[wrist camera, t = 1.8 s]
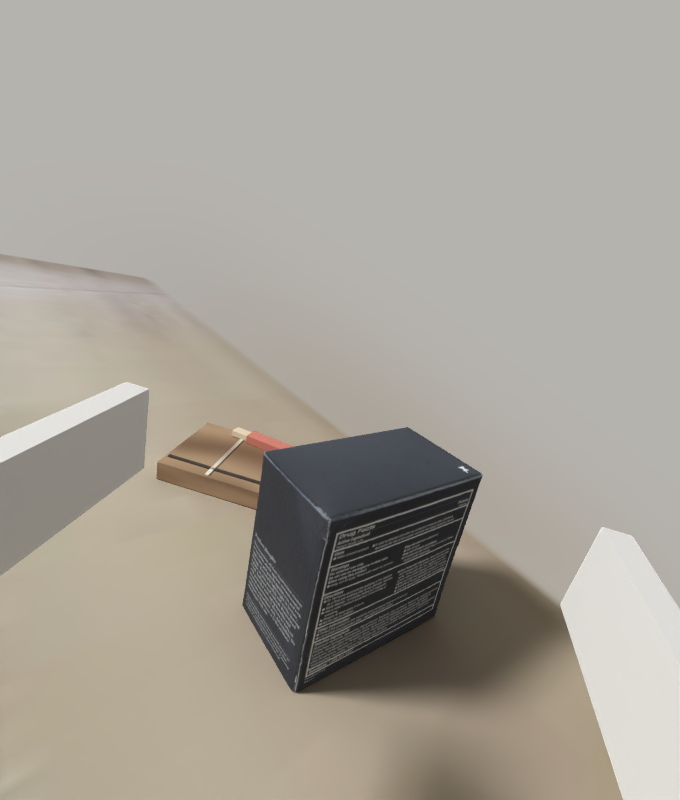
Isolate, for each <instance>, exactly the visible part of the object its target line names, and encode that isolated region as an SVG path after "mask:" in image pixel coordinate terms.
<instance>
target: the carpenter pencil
mask: <svg viewBox="0 0 680 800" xmlns="http://www.w3.org/2000/svg"><path fill="white" fill-rule="evenodd" d="M232 436H234V437H237V438H239V439H242V440H244V441H246V443H248V444H250V445H253V446H255V447H258V448H260V449H263V450H265V451H271V450H277V449H283V448H289V447H293V446H291V445H288V444H286V443H283V442H280V441H278V440H275V439H273V438H270V437H268V436H265V435H263V434H260V433H258V432H255V431H253V432H249V431H246V430H244V429H241V428H239V427H238V428H236V429H234V430H232Z"/></svg>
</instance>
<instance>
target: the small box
mask: <svg viewBox="0 0 680 800" xmlns="http://www.w3.org/2000/svg"><path fill="white" fill-rule="evenodd" d="M481 478H482V473H480V472H478V471H477V470H475V469H473V468H472V467H471V466H469V465H467V464H466V463H464V462H462V461H461V460H459V459H458V458H456V457H455V456H453V455H451V454H450V453H448V452H447V451H445V450H443V449H442V448H440V447H439V446H437V445H435V444H434V443H432V442H431V441H429V440H427V439H426V438H424V437H423V436H421V435H419V434H418V433H416V432H415V431H413V430H411V429H410V428H408V427H406V428H401V429H395V430H389V431H383V432H379V433H372V434H366V435H361V436H354V437H348V438H343V439H337V440H331V441H325V442H319V443H313V444H307V445H301V446H295V447H289V448H283V449H277V450H271V451H266V452H264V455H263V463H262V474H261V481H260V487H259V496H258V502H257V510H256V516H255V524H254V531H253V538H252V545H251V551H250V558H249V566H248V572H247V579H246V587H245V594H244V599H243V607H244V609H245V610H246V612H247V614H248V616H249V618H250V620H251V621H252V623H253V625H254V626H255V628H256V630H257V632H258V634H259V635H260V637H261V639H262V641H263V643H264V644H265V646H266V648H267V649H268V651H269V653H270V654H271V656H272V658H273V660H274V661H275V663H276V665H277V667H278V668H279V670H280V672H281V674H282V675H283V677H284V679H285V681H286V682H287V684H288V686H289V687H290V689H291V690H292V691H294V692H297V691H299V690H301V689H303V688H304V687H306V686H308V685H310V684H312V683H314V682H316V681H318V680H320V679H321V678H323V677H325V676H327V675H329V674H330V673H332V672H334V671H336V670H338V669H340V668H341V667H343V666H345V665H347V664H349V663H351V662H352V661H354V660H356V659H358V658H360V657H361V656H363V655H365V654H367V653H369V652H370V651H372V650H374V649H376V648H378V647H380V646H381V645H383V644H385V643H387V642H388V641H390V640H392V639H394V638H396V637H398V636H399V635H401V634H403V633H405V632H407V631H409V630H410V629H412V628H414V627H416V626H417V625H419V624H421V623H423V622H425V621H426V620H428V619H430V618H432V617H434V616H435V613H436V610H437V606H438V603H439V600H440V597H441V593H442V590H443V587H444V584H445V581H446V577H447V575H448V572H449V569H450V566H451V563H452V560H453V557H454V555H455V551H456V549H457V546H458V544H459V541H460V538H461V536H462V533H463V529H464V526H465V524H466V521H467V519H468V515H469V512H470V509H471V506H472V503H473V501H474V498H475V495H476V492H477V489H478V486H479V483H480V481H481Z"/></svg>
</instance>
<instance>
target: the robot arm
mask: <svg viewBox="0 0 680 800" xmlns="http://www.w3.org/2000/svg"><path fill="white" fill-rule="evenodd" d="M148 399H149V389H148V388H145V387H141V386H138V385H135V384H131V383H128V382H125V383H122V384H120V385H118V386H116V387H113V388H111V389H109V390H106V391H104V392H102V393H100V394H97V395H95V396H93V397H91V398H88V399H86V400H84V401H81V402H79V403H77V404H75V405H72V406H70V407H68V408H65V409H63V410H61V411H59V412H56V413H54V414H52V415H50V416H47V417H45V418H43V419H40V420H38V421H36V422H34V423H31V424H29V425H27V426H25V427H22V428H20V429H18V430H15V431H13V432H11V433H9V434H6V435H4V436H2V437H0V576H1V575H2V574H4V573H5V572H6V571H8V570H9V569H10V568H11V567H13V566H14V565H15V564H17V563H18V562H19V561H21V560H22V559H23V558H25V557H26V556H27V555H29V554H30V553H31V552H33V551H34V550H35V549H37V548H38V547H39V546H41V545H42V544H43V543H45V542H46V541H47V540H49V539H50V538H51V537H53V536H54V535H55V534H57V533H58V532H59V531H61V530H62V529H63V528H65V527H66V526H67V525H69V524H70V523H71V522H73V521H74V520H75V519H77V518H78V517H79V516H81V515H82V514H83V513H85V512H86V511H87V510H89V509H90V508H91V507H93V506H94V505H95V504H97V503H98V502H99V501H100V500H102V499H103V498H104V497H106V496H107V495H108V494H110V493H111V492H112V491H114V490H115V489H116V488H118V487H119V486H120V485H122V484H123V483H124V482H126V481H127V480H128V479H130V478H131V477H132V476H134V475H135V474H136V473H138V472H139V471H140V470H142V469H143V468H144V459H145V444H146V429H147V414H148ZM560 606H561V609H562V612H563V615H564V618H565V621H566V624H567V627H568V630H569V633H570V637H571V640H572V643H573V646H574V649H575V652H576V655H577V658H578V661H579V664H580V667H581V671H582V674H583V677H584V680H585V683H586V686H587V689H588V692H589V695H590V698H591V702H592V705H593V708H594V711H595V714H596V717H597V720H598V723H599V726H600V729H601V732H602V736H603V739H604V742H605V745H606V748H607V751H608V754H609V757H610V760H611V763H612V767H613V770H614V773H615V776H616V779H617V782H618V785H619V788H620V791H621V794H622V797H623V800H680V609H679V608H678V606H677V605H676V603H675V602H674V600H673V598H672V597H671V595H670V594H669V592H668V591H667V589H666V588H665V586H664V585H663V583H662V581H661V580H660V578H659V577H658V575H657V574H656V572H655V570H654V569H653V567H652V566H651V564H650V563H649V561H648V560H647V558H646V557H645V555H644V554H643V552H642V550H641V549H640V547H639V546H638V544H637V543H636V541H635V540H634V538H633V536H631V535H628V534H624V533H621V532H618V531H615V530H611V529H608V528H604V527H602V528H601V530H600V531H599V533H598V535H597V537H596V539H595V540H594V542H593V544H592V546H591V548H590V550H589V552H588V554H587V555H586V558H585V559H584V561H583V563H582V565H581V567H580V569H579V570H578V572H577V574H576V576H575V578H574V580H573V582H572V584H571V585H570V587H569V589H568V591H567V593H566V595H565V596H564V598H563V600H562V602H561V604H560Z"/></svg>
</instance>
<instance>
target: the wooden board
mask: <svg viewBox="0 0 680 800" xmlns="http://www.w3.org/2000/svg"><path fill="white" fill-rule="evenodd" d="M264 452H266V451H265V450H263V449H260V448H258V447H255V446H253V445H250V444H248V443H246V441H244V440H242V439H239V438H237V437H234V436H232V430H230V429H226V428H223V427H220V426H216V425H213V424H209V423H207V424H206V425H205V426H203V427H202V428H201V429H199V430H198V431H197V432H196V433H194V434H193V435H192V436H190V437H189V438H188V439H187V440H185V441H184V442H183V443H181V444H180V445H179V446H178V447H176V448H175V449H174V450H172V451H171V452H170V453H169V454H167V455H166V456H165V457H163V458H162V459H161V460H160V461H158V463H157V479H160V480H163V481H166V482H170V483H173V484H176V485H179V486H182V487H186V488H189V489H192V490H195V491H198V492H202V493H205V494H208V495H211V496H214V497H218V498H221V499H224V500H227V501H230V502H234V503H237V504H240V505H243V506H247V507H250V508H253V509H256V510H257V502H258V496H259V487H260V481H261V474H262V463H263V455H264Z"/></svg>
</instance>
